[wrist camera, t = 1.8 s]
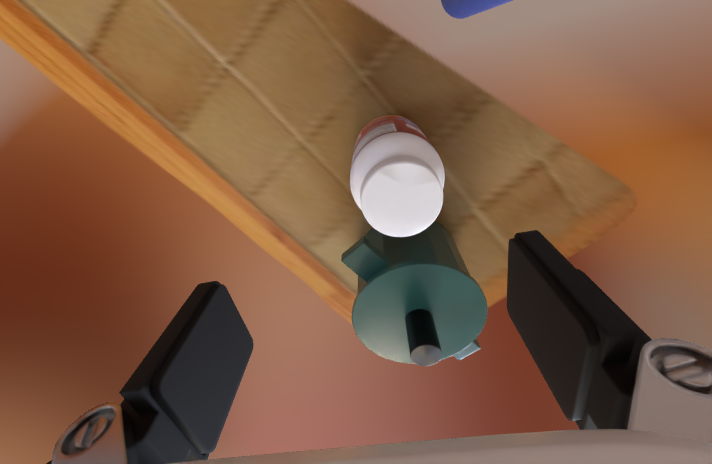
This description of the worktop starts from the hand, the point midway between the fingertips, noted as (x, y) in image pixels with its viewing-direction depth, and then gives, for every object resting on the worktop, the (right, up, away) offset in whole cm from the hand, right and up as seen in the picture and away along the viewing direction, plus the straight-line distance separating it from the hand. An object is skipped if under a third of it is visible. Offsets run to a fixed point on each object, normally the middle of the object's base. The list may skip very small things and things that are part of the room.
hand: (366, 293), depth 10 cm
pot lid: (+5, -5, +15) cm, 16 cm away
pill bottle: (+3, +9, +17) cm, 20 cm away
